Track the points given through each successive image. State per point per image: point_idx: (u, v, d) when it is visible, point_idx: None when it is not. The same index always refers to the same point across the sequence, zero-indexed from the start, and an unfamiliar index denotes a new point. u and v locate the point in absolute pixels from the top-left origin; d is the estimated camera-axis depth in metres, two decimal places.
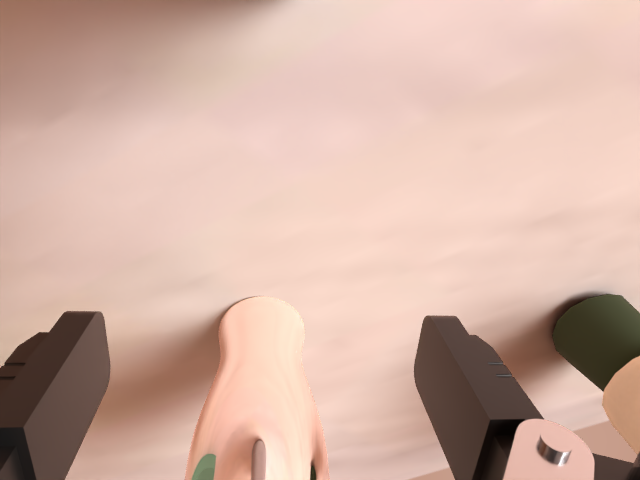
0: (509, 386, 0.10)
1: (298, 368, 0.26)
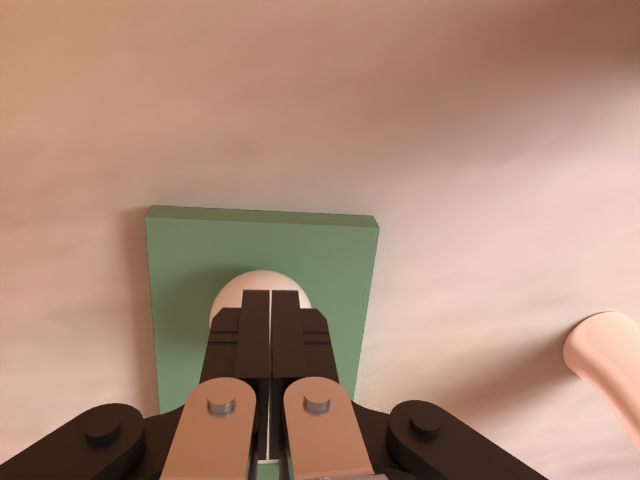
0: (322, 352, 0.10)
1: None
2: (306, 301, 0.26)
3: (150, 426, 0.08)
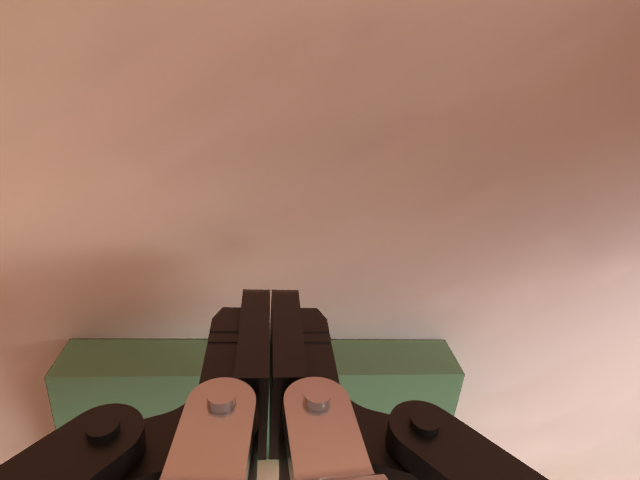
0: (322, 352, 0.10)
1: None
2: None
3: (151, 425, 0.08)
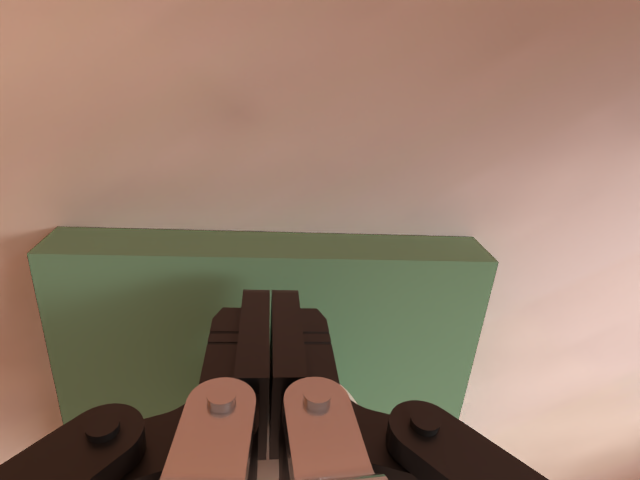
0: (322, 352, 0.10)
1: None
2: None
3: (150, 426, 0.08)
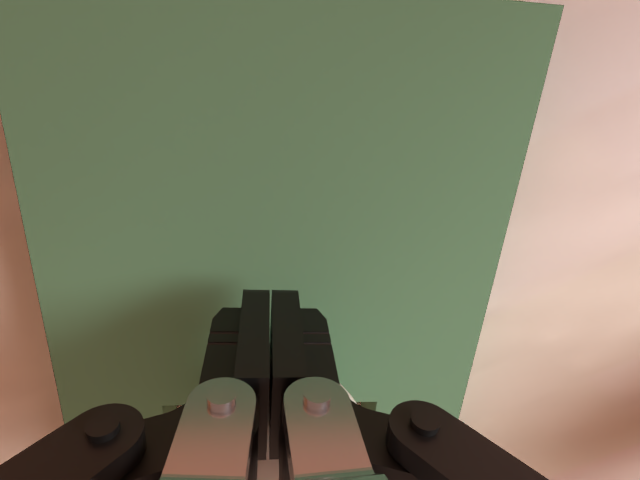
0: (322, 352, 0.10)
1: None
2: None
3: (150, 426, 0.08)
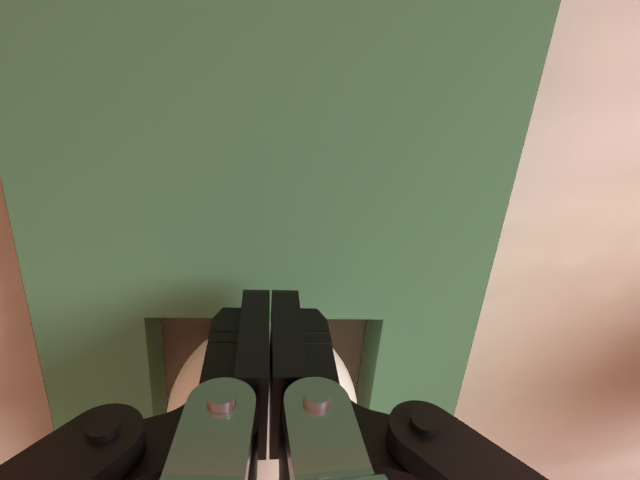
0: (322, 352, 0.10)
1: None
2: None
3: (150, 425, 0.08)
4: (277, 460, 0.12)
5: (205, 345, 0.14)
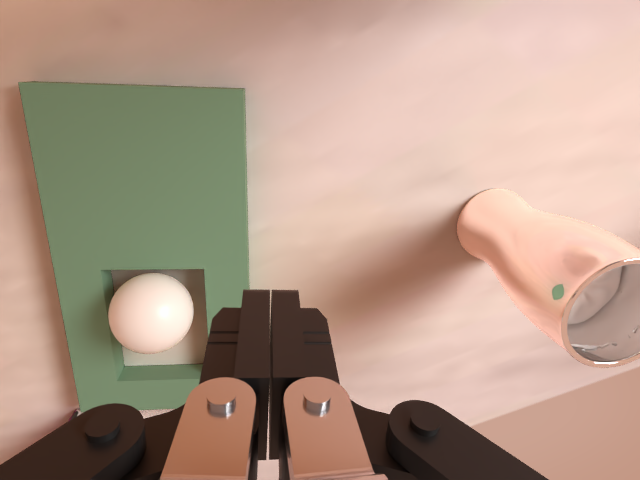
0: (322, 352, 0.10)
1: None
2: None
3: (151, 425, 0.08)
4: (144, 321, 0.31)
5: (124, 283, 0.33)
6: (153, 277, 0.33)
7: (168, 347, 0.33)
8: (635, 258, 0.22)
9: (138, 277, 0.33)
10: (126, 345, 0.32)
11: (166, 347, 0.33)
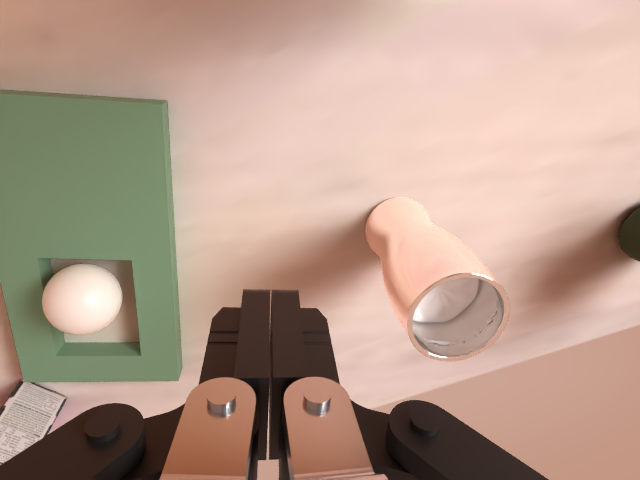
0: (322, 352, 0.10)
1: None
2: None
3: (150, 426, 0.08)
4: (71, 309, 0.35)
5: (57, 272, 0.37)
6: (82, 268, 0.37)
7: (96, 330, 0.37)
8: (466, 273, 0.27)
9: (69, 268, 0.37)
10: (57, 328, 0.36)
11: (93, 330, 0.37)
